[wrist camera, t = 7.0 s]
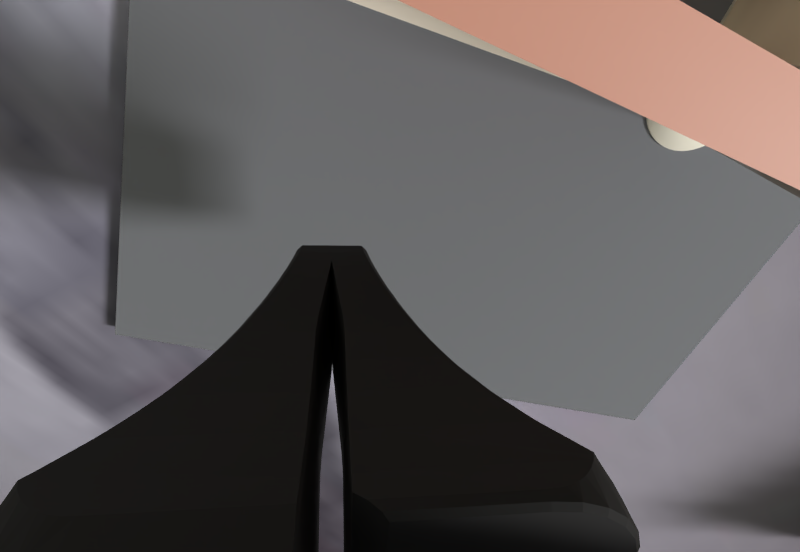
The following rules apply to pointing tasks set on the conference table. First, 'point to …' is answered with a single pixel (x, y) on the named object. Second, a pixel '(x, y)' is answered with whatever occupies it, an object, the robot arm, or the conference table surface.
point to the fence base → (769, 40)
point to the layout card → (426, 194)
